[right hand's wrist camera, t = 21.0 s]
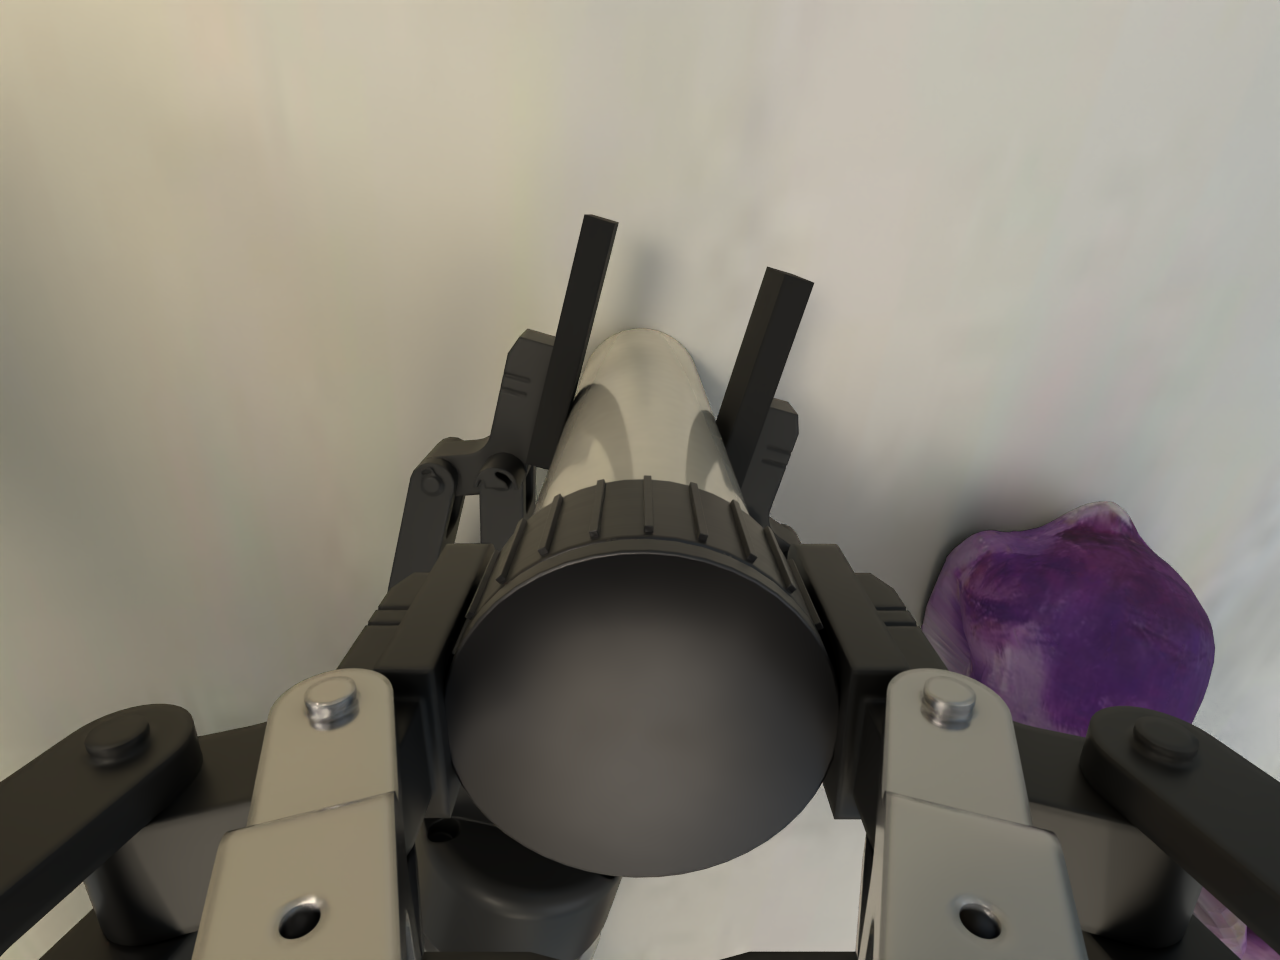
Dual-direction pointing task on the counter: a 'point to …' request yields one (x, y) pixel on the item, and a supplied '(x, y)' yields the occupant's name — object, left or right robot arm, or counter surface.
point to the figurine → (1080, 636)
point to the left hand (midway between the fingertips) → (696, 248)
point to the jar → (640, 422)
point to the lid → (641, 683)
